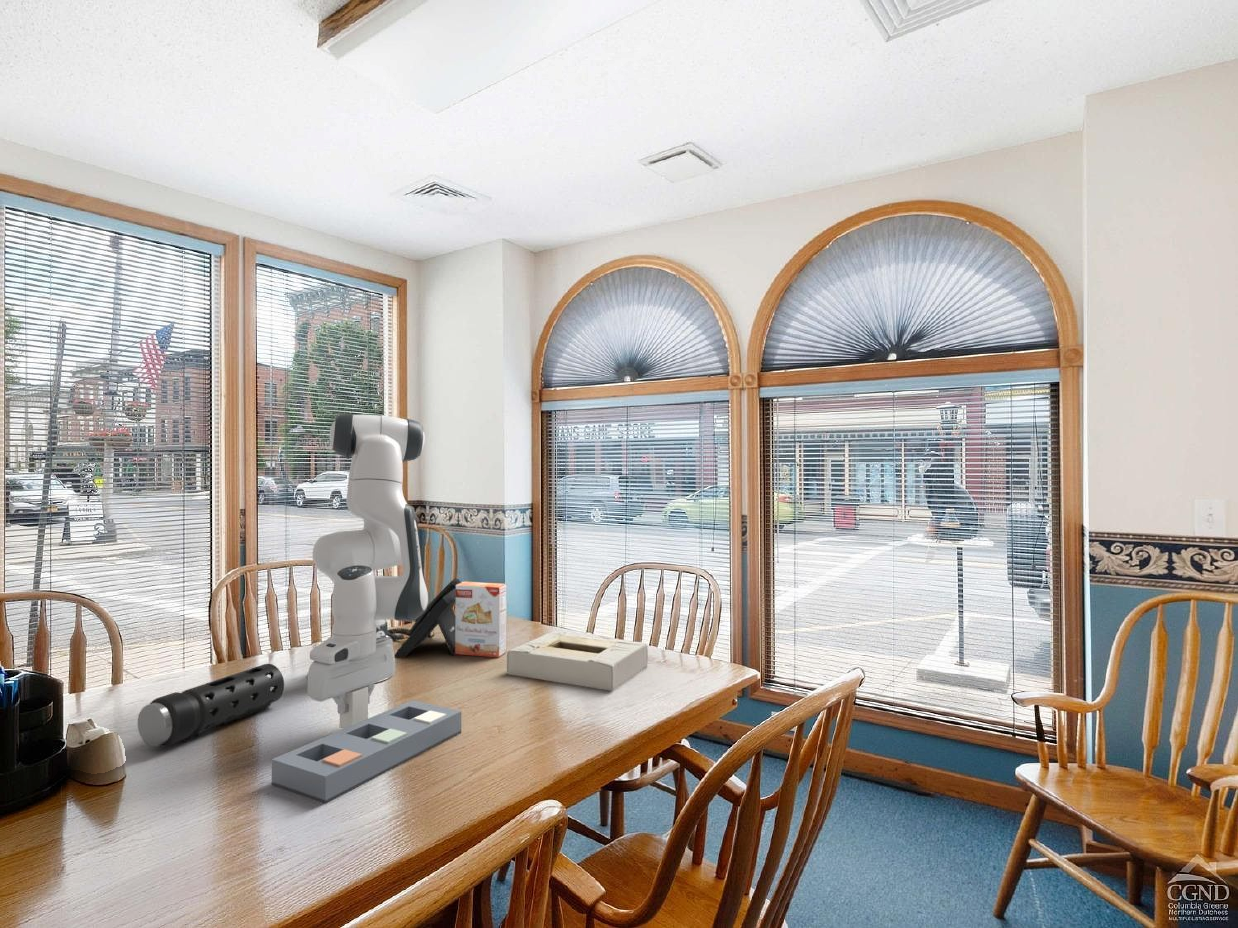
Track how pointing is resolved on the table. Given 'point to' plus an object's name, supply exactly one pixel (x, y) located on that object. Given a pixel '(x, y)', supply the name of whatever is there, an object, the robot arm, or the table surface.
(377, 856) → the table surface
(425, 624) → the office phone
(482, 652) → the cracker box
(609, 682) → the box
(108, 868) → the table surface
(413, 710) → the socket block
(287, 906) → the table surface
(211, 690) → the muzzle brake
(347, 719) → the plug
